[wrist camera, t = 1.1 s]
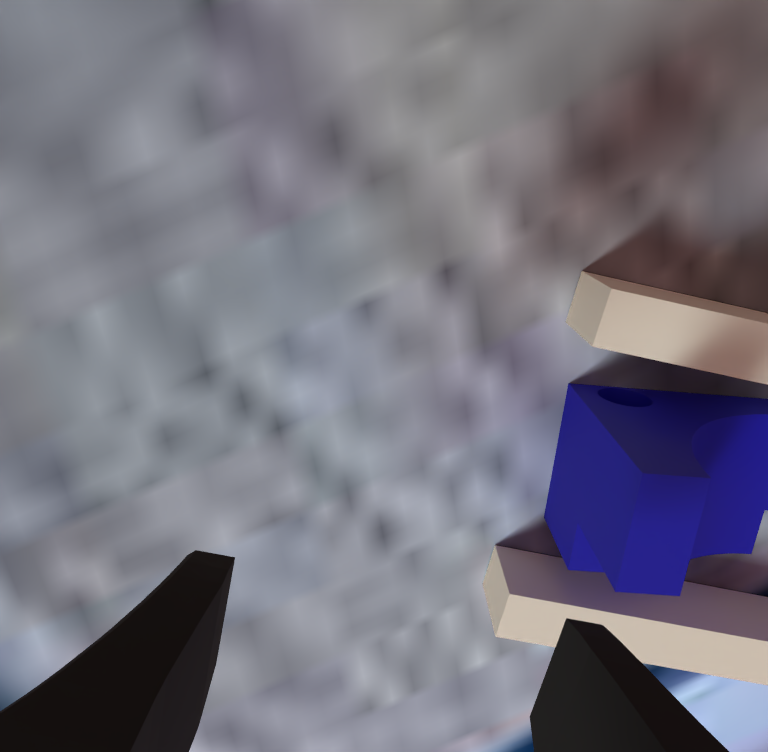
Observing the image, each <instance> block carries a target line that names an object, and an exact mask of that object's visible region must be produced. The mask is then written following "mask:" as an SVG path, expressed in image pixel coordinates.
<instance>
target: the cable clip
mask: <svg viewBox="0 0 768 752" xmlns="http://www.w3.org/2000/svg"><path fill="white" fill-rule="evenodd" d="M764 510H768V399H762V398H749V397H737V396H724V395H711V394H698V393H686V392H673V391H660V390H647V389H635V388H622V387H609V386H596V385H584V384H571V383H569V384H568V389H567V395H566V400H565V406H564V411H563V417H562V422H561V427H560V433H559V438H558V444H557V449H556V455H555V460H554V466H553V471H552V477H551V482H550V488H549V493H548V498H547V504H546V509H545V515H544V518H545V520H546V523H547V525H548V527H549V529H550V531H551V534H552V536H553V538H554V540H555V542H556V545H557V547H558V549H559V551H560V553H561V556H562V558H563V560H564V562H565V564H566V566H567V569H568V570H574V571H589V572H604V573H605V574H606V576H607V578H608V579H609V581H610V583H611V585H612V587H613V589H614V591H615V592H624V593H639V594H654V595H669V596H680V594H681V590H682V587H683V583H684V579H685V575H686V572H687V568H688V564H689V560H690V559H693V558H697V557H701V556H707V555H714V554H727V553H742V554H751V553H752V550H753V546H754V543H755V540H756V536H757V533H758V530H759V526H760V523H761V520H762V516H763V513H764Z"/></svg>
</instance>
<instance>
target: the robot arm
mask: <svg viewBox="0 0 768 752" xmlns="http://www.w3.org/2000/svg"><path fill="white" fill-rule="evenodd" d="M234 560H235V557H230V556H224V555H219V554H213V553H208V552H202V551H197V550H196V551H194V552H192V553H190V554H189V555H187V556H186V557H185V559H184V560H183V561H182V562H181V563H180V564H179V565H178V566H177V567H176V568H175V569H174V570H173V571H172V572H171V574H170V575H169V576H168V577H167V578H166V579H165V580H164V581H163V582H162V583H161V584H160V585H159V586H157V587H156V588H155V589H154V590H153V591H152V592H151V593H150V594H149V595H148V596H147V597H146V598H145V599H144V600H143V601H142V602H141V603H139V604H138V605H137V606H136V607H135V608H134V609H133V610H132V611H130V612H129V613H128V614H127V615H126V616H125V617H124V618H123V619H121V620H120V621H119V622H118V623H117V624H116V625H115V626H114V627H112V628H111V629H110V630H109V631H108V632H107V633H105V634H104V635H103V636H102V637H101V638H99V639H98V640H97V641H96V642H94V643H93V644H92V645H90V646H89V647H88V648H87V649H85V650H84V651H83V652H82V653H80V654H79V655H78V656H77V657H75V658H74V659H73V660H72V661H70V662H69V663H68V664H66V665H65V666H64V667H63V668H61V669H60V670H59V671H57V672H56V673H55V674H53V675H52V676H51V677H49V678H48V679H47V680H45V681H44V682H42V683H41V684H40V685H38V686H37V687H36V688H34V689H33V690H31V691H30V692H28V693H27V694H26V695H24V696H23V697H21V698H20V699H18V700H17V701H15V702H14V703H12V704H11V705H9V706H8V707H6V708H5V709H3V710H2V711H0V752H189V750H190V747H191V745H192V742H193V740H194V737H195V734H196V732H197V729H198V726H199V723H200V719H201V716H202V712H203V709H204V705H205V702H206V698H207V695H208V691H209V687H210V684H211V680H212V677H213V673H214V669H215V666H216V661H217V656H218V650H219V645H220V639H221V633H222V628H223V622H224V616H225V611H226V605H227V599H228V594H229V588H230V583H231V577H232V571H233V566H234ZM530 722H531V730H532V738H533V746H534V752H729V751H728V750H727V749H726V748H725V747H724V746H723V745H722V744H721V743H720V742H719V741H718V740H717V739H716V738H715V737H714V736H713V735H711V734H710V733H709V732H708V731H707V730H706V729H705V728H704V727H703V726H702V725H701V724H700V723H699V722H698V721H697V719H696V718H695V717H694V716H693V715H692V714H691V713H690V712H689V711H688V710H687V709H686V708H685V707H684V706H683V705H682V704H681V703H680V702H679V701H678V700H677V699H676V698H675V697H674V696H673V695H672V694H671V693H670V692H669V691H668V690H667V689H666V688H665V687H664V686H663V685H662V684H661V683H660V682H659V680H658V679H657V678H656V677H655V676H654V675H653V674H652V673H651V672H650V671H649V670H648V669H647V668H646V667H645V666H644V665H643V664H642V663H641V662H640V661H639V660H638V659H637V658H636V657H635V656H634V655H633V654H632V653H631V652H630V651H629V650H628V648H627V647H626V646H625V645H624V644H623V643H622V642H621V641H620V640H618V639H617V638H616V637H615V636H614V635H613V634H612V633H611V632H610V631H609V630H608V629H607V628H606V627H605V626H603V625H601V624H596V623H590V622H585V621H579V620H574V619H568V618H566V620H565V623H564V626H563V629H562V631H561V634H560V637H559V639H558V642H557V645H556V648H555V650H554V653H553V656H552V658H551V661H550V664H549V666H548V669H547V672H546V675H545V677H544V680H543V683H542V685H541V688H540V691H539V693H538V696H537V699H536V702H535V704H534V707H533V710H532V712H531V715H530Z"/></svg>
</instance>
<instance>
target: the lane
mask: <svg viewBox="0 0 768 752" xmlns="http://www.w3.org/2000/svg"><path fill="white" fill-rule="evenodd" d="M566 323H567V324H568V325H569V326H570V327H571V328H572V329H574V330H575V331H576V332H577V333H578V334H579V335H580V336H581V337H582V338H583V339H585V340H586V341H587V342H588V343H589V344H590V345H591V346H592V347H597V348H602V349H606V350H611V351H615V352H620V353H625V354H629V355H634V356H638V357H643V358H648V359H652V360H657V361H661V362H666V363H671V364H675V365H680V366H684V367H689V368H694V369H698V370H703V371H707V372H712V373H717V374H721V375H726V376H730V377H735V378H740V379H744V380H749V381H753V382H758V383H763V384H767V385H768V313H765V312H760V311H756V310H751V309H747V308H743V307H738V306H734V305H729V304H725V303H720V302H716V301H712V300H707V299H703V298H698V297H694V296H690V295H685V294H681V293H676V292H672V291H667V290H663V289H659V288H654V287H650V286H645V285H641V284H637V283H632V282H628V281H623V280H619V279H615V278H610V277H606V276H601V275H597V274H592V273H588V272H584V271H582V272H581V275H580V278H579V281H578V285H577V288H576V291H575V294H574V297H573V300H572V304H571V307H570V310H569V313H568V316H567V319H566ZM483 588H484V592H485V596H486V600H487V604H488V608H489V612H490V616H491V620H492V624H493V629H494V633H495V637H501V638H507V639H512V640H518V641H523V642H529V643H534V644H540V645H546V646H551V647H556V645H557V642H558V639H559V637H560V634H561V631H562V629H563V626H564V623H565V620H566V618H568V619H574V620H579V621H585V622H590V623H596V624H601V625H603V626H605V627H606V628H607V629H608V630H609V631H610V632H611V633H612V634H613V635H614V636H615V637H616V638H617V639H618V640H620V641H621V642H622V643H623V644H624V645H625V646H626V647H627V648H628V650H629V651H630V652H631V653H632V654H633V655H634V656H635V657H636V658H637V659H638V660H639V661H640V662H641V663H646V664H652V665H657V666H663V667H668V668H674V669H680V670H685V671H691V672H696V673H702V674H708V675H713V676H719V677H724V678H730V679H735V680H741V681H747V682H752V683H758V684H763V685H768V597H765V596H759V595H754V594H749V593H744V592H738V591H733V590H728V589H723V588H717V587H712V586H707V585H702V584H696V583H691V582H686V581H684V583H683V587H682V590H681V594H680V596H669V595H654V594H639V593H624V592H615V591H614V589H613V587H612V585H611V583H610V581H609V579H608V578H607V576H606V574H605V573H604V572H589V571H574V570H568V569H567V566H566V564H565V562H564V560H563V558H560V557H555V556H549V555H544V554H539V553H534V552H528V551H523V550H518V549H513V548H507V547H502V546H497V545H495V547H494V550H493V553H492V556H491V559H490V562H489V565H488V569H487V572H486V575H485V578H484V581H483Z"/></svg>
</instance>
